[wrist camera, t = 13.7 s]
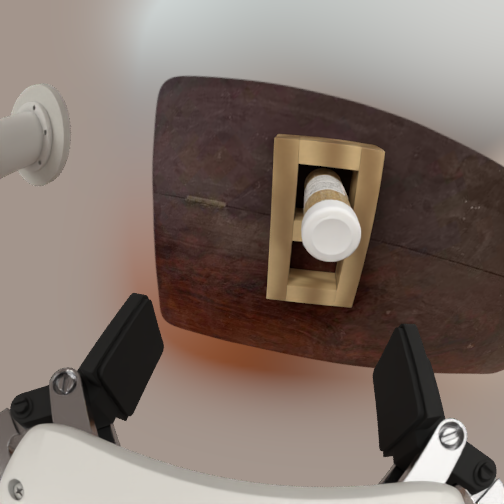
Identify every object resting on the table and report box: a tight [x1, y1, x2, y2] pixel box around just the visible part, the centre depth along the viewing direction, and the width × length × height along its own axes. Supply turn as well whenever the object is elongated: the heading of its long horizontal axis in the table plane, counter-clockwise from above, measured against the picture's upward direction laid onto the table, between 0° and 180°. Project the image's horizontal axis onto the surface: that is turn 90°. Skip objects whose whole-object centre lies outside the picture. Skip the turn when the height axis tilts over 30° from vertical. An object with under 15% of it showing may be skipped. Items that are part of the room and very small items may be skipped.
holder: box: [266, 134, 385, 307], centre depth 32 cm, size 11×20×4 cm, turn 179°
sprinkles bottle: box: [301, 168, 361, 262], centre depth 26 cm, size 5×5×13 cm
